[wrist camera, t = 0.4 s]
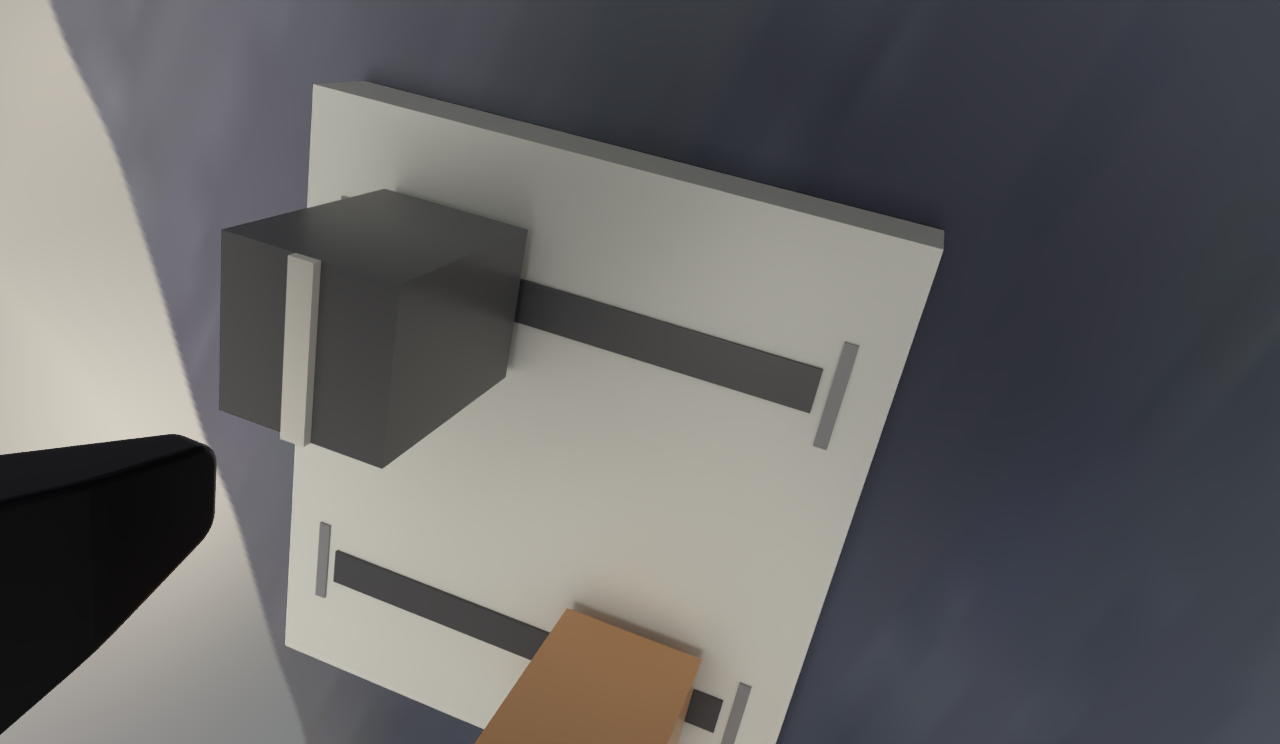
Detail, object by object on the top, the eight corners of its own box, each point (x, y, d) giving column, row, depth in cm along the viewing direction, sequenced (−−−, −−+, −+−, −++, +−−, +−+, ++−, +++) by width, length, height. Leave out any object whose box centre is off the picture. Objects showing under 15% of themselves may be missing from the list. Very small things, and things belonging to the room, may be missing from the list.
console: (758, 782, 25) (742, 842, 23) (327, 606, 28) (282, 647, 26) (944, 230, 19) (943, 250, 17) (365, 80, 22) (310, 84, 20)
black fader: (505, 377, 21) (375, 473, 16) (372, 333, 21) (211, 413, 17) (527, 229, 19) (393, 288, 15) (384, 188, 20) (212, 231, 15)
